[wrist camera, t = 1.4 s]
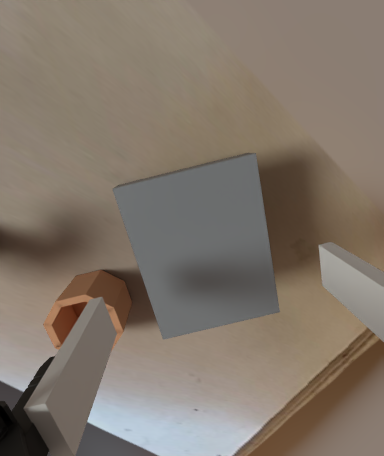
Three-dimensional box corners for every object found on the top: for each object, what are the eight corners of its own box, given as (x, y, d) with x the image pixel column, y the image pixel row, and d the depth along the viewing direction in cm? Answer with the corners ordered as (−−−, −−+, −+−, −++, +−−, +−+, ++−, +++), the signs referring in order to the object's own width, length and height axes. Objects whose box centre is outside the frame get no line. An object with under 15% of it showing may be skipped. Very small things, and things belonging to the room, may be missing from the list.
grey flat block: (118, 184, 19) (112, 188, 17) (247, 152, 19) (255, 153, 17) (164, 323, 23) (163, 339, 21) (271, 298, 23) (279, 312, 21)
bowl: (58, 280, 28) (34, 306, 23) (118, 265, 28) (106, 289, 23) (81, 329, 30) (63, 363, 25) (137, 316, 30) (129, 348, 25)
